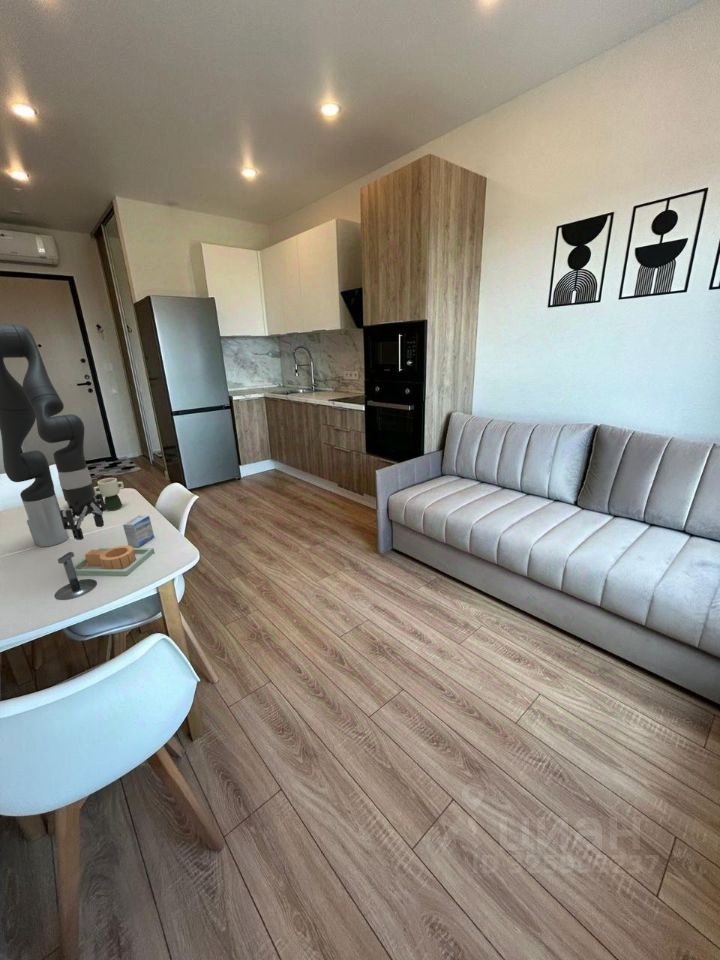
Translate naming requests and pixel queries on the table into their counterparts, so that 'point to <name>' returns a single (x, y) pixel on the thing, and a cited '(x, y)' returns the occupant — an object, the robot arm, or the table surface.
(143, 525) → the medicine box
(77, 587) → the metal post stand
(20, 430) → the robot arm
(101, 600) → the table surface
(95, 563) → the ring
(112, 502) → the character mug
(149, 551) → the green rhombus frame
